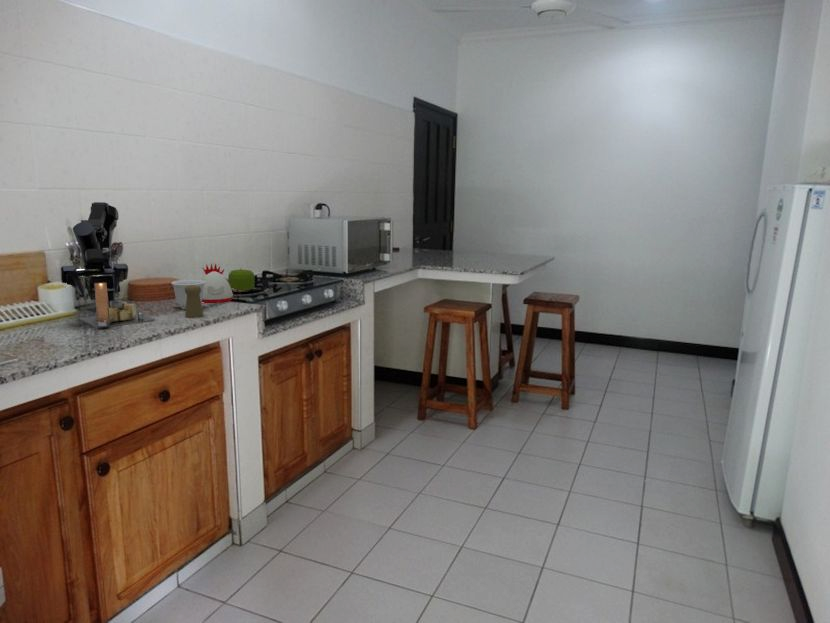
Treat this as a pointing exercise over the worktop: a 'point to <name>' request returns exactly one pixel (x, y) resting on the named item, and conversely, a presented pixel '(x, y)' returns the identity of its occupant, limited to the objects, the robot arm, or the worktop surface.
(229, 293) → the kitchen timer
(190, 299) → the pepper mill
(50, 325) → the worktop surface
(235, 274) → the apple
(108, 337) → the worktop surface
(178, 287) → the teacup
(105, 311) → the copper cylinder with bracket
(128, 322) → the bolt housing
